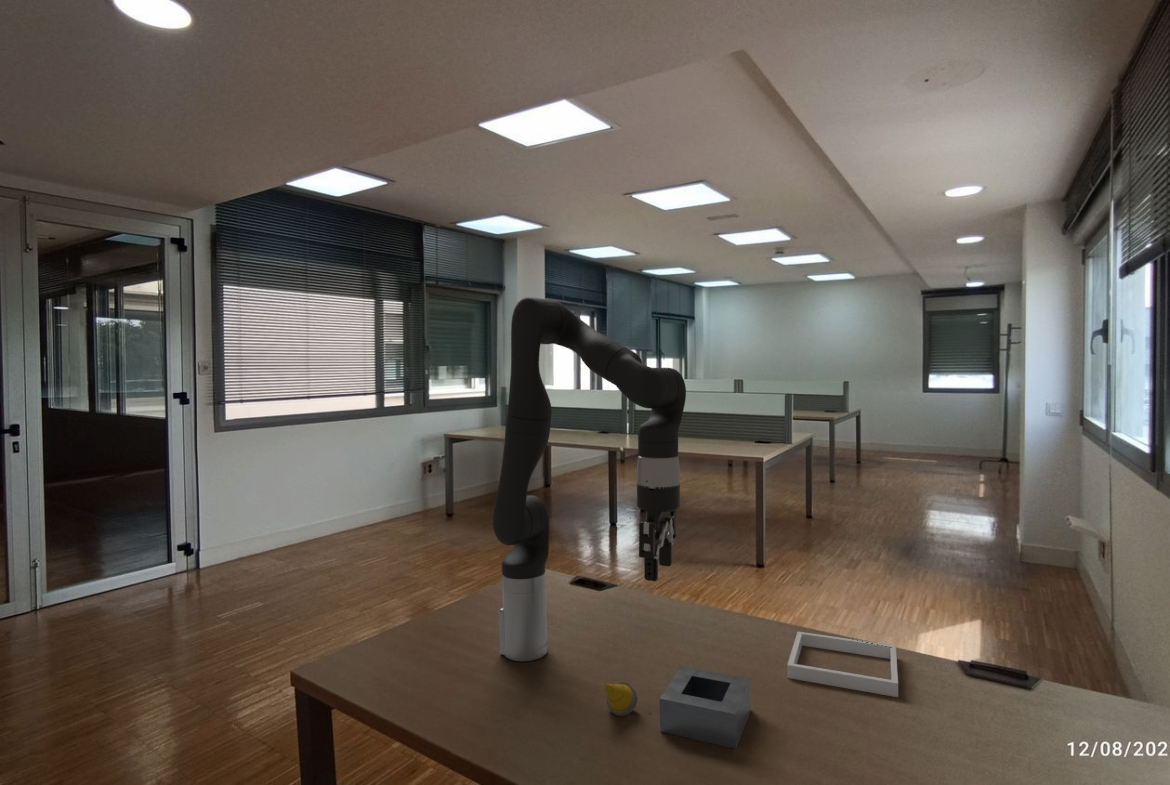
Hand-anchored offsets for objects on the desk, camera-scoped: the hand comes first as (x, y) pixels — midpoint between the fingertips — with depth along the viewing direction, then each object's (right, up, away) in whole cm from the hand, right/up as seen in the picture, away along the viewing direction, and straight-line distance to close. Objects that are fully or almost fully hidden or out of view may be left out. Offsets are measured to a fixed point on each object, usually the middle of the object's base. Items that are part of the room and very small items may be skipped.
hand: (658, 572), depth 110 cm
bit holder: (+8, -24, -4) cm, 25 cm away
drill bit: (-7, -24, -2) cm, 25 cm away
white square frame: (+38, -23, +13) cm, 46 cm away
